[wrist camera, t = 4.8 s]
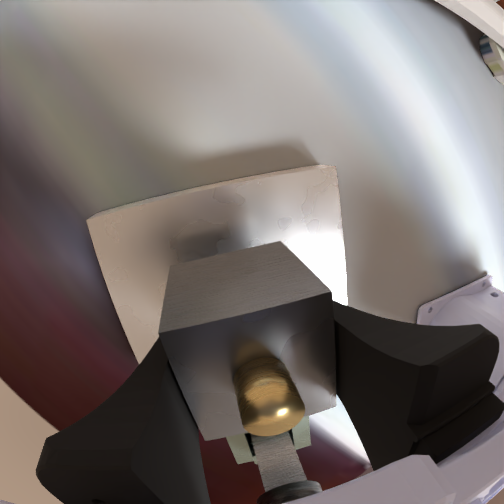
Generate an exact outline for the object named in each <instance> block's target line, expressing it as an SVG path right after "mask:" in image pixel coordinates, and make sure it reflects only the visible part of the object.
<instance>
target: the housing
mask: <svg viewBox="0 0 504 504" xmlns="http://www.w3.org/2000/svg"><path fill="white" fill-rule="evenodd" d="M158 334H159V337H160V339H161V342H162V345H163V347H164V350H165V352H166V355H167V357H168V360H169V362H170V365H171V367H172V369H173V372H174V374H175V377H176V379H177V381H178V384H179V386H180V388H181V390H182V393H183V395H184V397H185V399H186V402H187V404H188V406H189V408H190V410H191V412H192V415H193V417H194V419H195V421H196V423H197V425H198V427H199V429H200V431H201V433H202V435H203V437H204V439H205V441H207V440H213V439H218V438H223V437H228V436H233V435H238V434H242V433H247V432H249V433H251V434H253V435H257V436H274V435H278V434H281V433H284V432H286V431H288V430H290V429H292V428H293V427H295V426H296V425H297V424H298V423H299V422H300V421H301V420H302V418H303V417H306V416H309V415H312V414H315V413H318V412H321V411H324V410H327V409H330V408H333V407H335V406H336V353H335V327H334V308H333V292H332V290H331V289H330V288H329V287H328V286H327V285H326V284H325V283H324V282H323V281H322V280H321V279H320V278H319V277H318V276H317V275H316V274H315V273H314V272H313V271H312V270H310V269H309V268H308V267H307V266H306V265H305V264H304V263H303V262H302V261H301V260H300V259H299V258H298V257H297V256H296V255H295V254H294V253H293V252H292V251H291V250H290V249H289V248H288V247H287V246H286V245H284V244H283V243H282V242H281V241H277V242H272V243H268V244H263V245H259V246H255V247H250V248H246V249H241V250H237V251H232V252H228V253H224V254H219V255H215V256H210V257H206V258H202V259H197V260H193V261H188V262H184V263H180V264H175V265H171V266H170V268H169V274H168V279H167V284H166V289H165V295H164V301H163V306H162V312H161V318H160V324H159V330H158Z"/></svg>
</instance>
